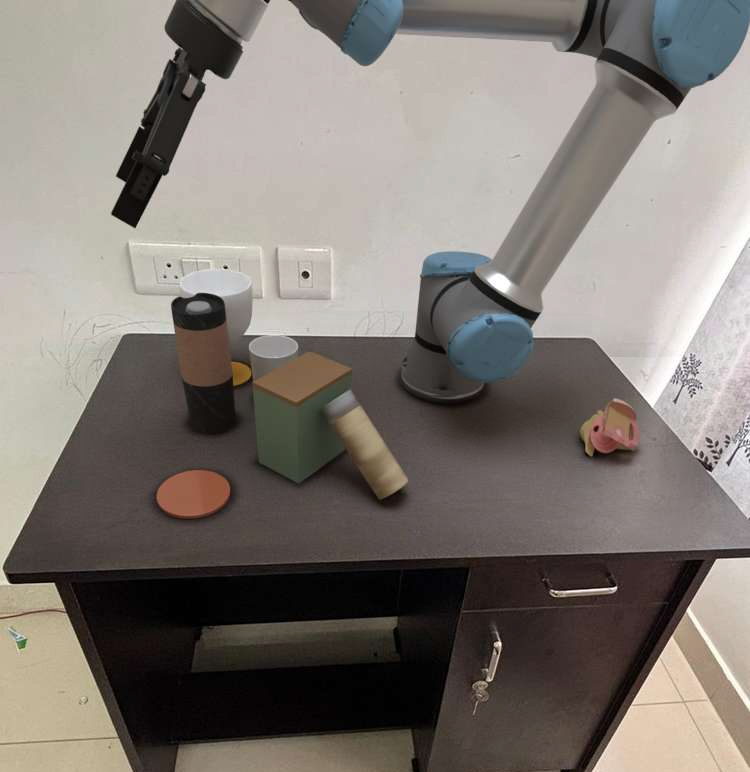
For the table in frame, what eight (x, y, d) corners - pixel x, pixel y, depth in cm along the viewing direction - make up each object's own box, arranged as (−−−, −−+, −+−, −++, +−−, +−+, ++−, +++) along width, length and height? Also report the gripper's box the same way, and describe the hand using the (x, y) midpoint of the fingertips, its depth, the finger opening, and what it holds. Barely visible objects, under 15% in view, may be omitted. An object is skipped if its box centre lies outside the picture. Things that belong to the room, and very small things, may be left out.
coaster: (209, 464, 94) (209, 461, 94) (243, 500, 88) (243, 497, 88) (145, 489, 89) (144, 486, 89) (177, 529, 83) (176, 526, 83)
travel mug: (226, 437, 99) (212, 317, 86) (181, 430, 100) (160, 310, 87) (244, 412, 105) (233, 296, 92) (200, 405, 106) (183, 289, 93)
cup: (179, 381, 111) (163, 287, 100) (216, 353, 120) (206, 263, 109) (236, 398, 108) (227, 302, 97) (271, 368, 117) (265, 277, 106)
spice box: (349, 446, 99) (352, 368, 90) (298, 484, 92) (296, 402, 83) (310, 428, 103) (309, 350, 94) (258, 462, 95) (252, 381, 86)
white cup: (280, 416, 105) (277, 362, 98) (243, 401, 108) (238, 347, 101) (308, 396, 110) (307, 344, 103) (272, 382, 113) (269, 330, 106)
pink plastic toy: (560, 448, 103) (580, 393, 104) (603, 470, 107) (622, 417, 108) (600, 450, 95) (622, 391, 95) (645, 474, 99) (666, 417, 99)
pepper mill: (412, 495, 91) (421, 412, 82) (392, 513, 88) (400, 428, 79) (336, 458, 97) (336, 376, 88) (315, 473, 94) (313, 391, 85)
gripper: (176, -20, 72) (99, 150, 81) (184, 5, 54) (84, 219, 63) (235, 29, 76) (155, 185, 85) (260, 67, 59) (156, 259, 68)
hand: (124, 200), depth 74 cm, fingers open, 13 cm apart
